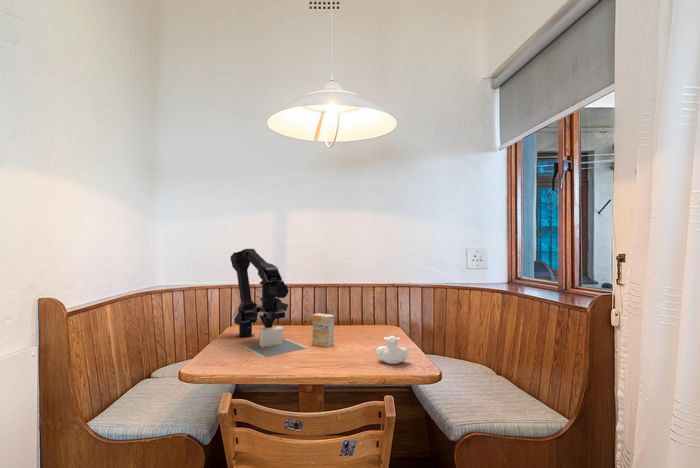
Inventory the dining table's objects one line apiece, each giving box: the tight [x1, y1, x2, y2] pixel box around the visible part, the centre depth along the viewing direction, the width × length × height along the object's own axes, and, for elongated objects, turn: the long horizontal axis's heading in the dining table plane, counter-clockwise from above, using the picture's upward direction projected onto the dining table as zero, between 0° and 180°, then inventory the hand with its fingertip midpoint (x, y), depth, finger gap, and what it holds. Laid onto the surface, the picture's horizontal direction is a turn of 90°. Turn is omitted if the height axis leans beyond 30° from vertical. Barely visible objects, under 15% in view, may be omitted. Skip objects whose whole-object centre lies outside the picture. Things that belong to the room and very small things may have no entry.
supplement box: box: [311, 312, 335, 348], centre depth 159 cm, size 8×5×13 cm, turn 65°
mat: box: [244, 338, 309, 359], centre depth 154 cm, size 18×20×1 cm
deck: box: [258, 325, 284, 348], centre depth 157 cm, size 3×9×7 cm, turn 129°
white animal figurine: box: [375, 335, 409, 365], centre depth 136 cm, size 12×8×11 cm
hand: (268, 332), depth 159 cm, fingers closed
